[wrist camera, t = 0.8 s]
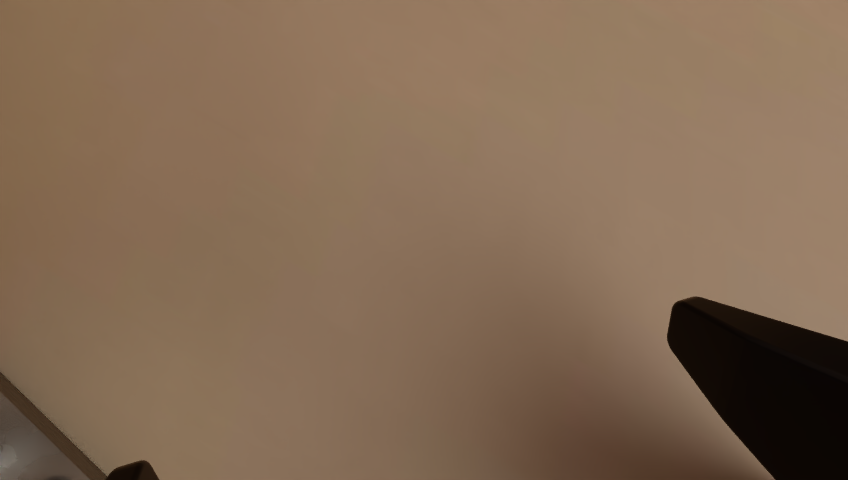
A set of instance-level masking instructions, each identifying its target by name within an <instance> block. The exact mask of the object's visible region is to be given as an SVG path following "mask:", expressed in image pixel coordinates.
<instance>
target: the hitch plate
mask: <svg viewBox="0 0 848 480" xmlns="http://www.w3.org/2000/svg"><path fill="white" fill-rule="evenodd" d="M0 474H1V475H0V480H105V479H106V478H107V477H106V476H105V475H104V474H103V473H102V472H101V471H100V470H99V469H98V468H97V467H96V466H95V465H94V464H93V463H92V462H91V461H90V460H89V459H88V458H87V457H86V456H85V455H84V454H83V453H82V452H81V451H80V450H79V449H78V448H77V447H76V446H75V445H74V444H73V443H72V442H71V441H70V440H69V439H68V438H67V437H66V436H65V435H64V434H63V433H61V432H60V431H59V430H58V429H57V428H56V427H55V426H54V425H53V424H52V423H51V422H50V421H49V420H48V419H47V418H46V417H45V416H44V415H43V414H42V413H41V412H40V411H39V410H38V409H37V408H36V407H35V406H34V405H33V404H32V403H31V402H30V401H29V400H28V399H27V398H26V397H25V396H24V395H23V394H22V393H21V392H20V391H19V390H18V389H16V388H15V387H14V386H13V385H12V384H11V383H10V382H9V381H8V380H7V379H6V378H5V377H4V376H3V375H2V374H1V373H0Z"/></svg>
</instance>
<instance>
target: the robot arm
mask: <svg viewBox="0 0 848 480" xmlns="http://www.w3.org/2000/svg"><path fill="white" fill-rule="evenodd" d="M667 341H668V344H669V346H670V348H671V350H672V352H673V353H674V354H675V356H676V357H677V358H678V360H679V361H680V362H681V364H682V365H683V367H684V368H685V369H686V371H687V372H688V373H689V375H690V376H691V378H692V379H693V380H694V382H695V383H696V384H697V386H698V387H699V388H700V390H701V391H702V393H703V394H704V395H705V397H706V398H707V399H708V401H709V402H710V403H711V405H712V406H713V408H714V409H715V410H716V411H717V413H718V414H719V415H720V417H721V418H722V419H723V420H724V422H725V423H726V424H727V425H728V426H729V428H730V429H731V430H732V431H733V432H734V433H735V435H736V436H737V437H738V438H739V439H740V440H741V441H742V442H743V444H744V445H745V446H746V447H747V448H748V449H749V450H750V452H751V453H752V454H753V455H754V456H755V457H756V458H757V459H758V461H759V462H760V463H761V464H762V465H763V466H764V467H765V469H766V470H767V471H768V472H769V473H770V474H771V475H772V477H773V478H774V479H775V480H848V342H847V341H844V340H841V339H837V338H834V337H831V336H828V335H824V334H821V333H818V332H814V331H811V330H808V329H804V328H801V327H798V326H794V325H791V324H788V323H784V322H781V321H778V320H774V319H771V318H768V317H764V316H761V315H758V314H754V313H751V312H748V311H745V310H741V309H738V308H735V307H731V306H728V305H725V304H721V303H718V302H715V301H711V300H708V299H705V298H701V297H690V298H687V299H683V300H680V301H677V302H676V303H675V304H674V305H673V307H672V311H671V316H670V322H669V327H668V333H667ZM105 480H159V479H158V477H157V475H156V473H155V471H154V470H153V468H152V466H151V465H150V464H149V462H147V461H145V460H141V461H137V462H134V463H130V464H127V465H124V466H120V467H118V468H116V469H114V470H113V471H112V472H111V473H110V474H109V475H108V477H107V478H106V479H105Z"/></svg>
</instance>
